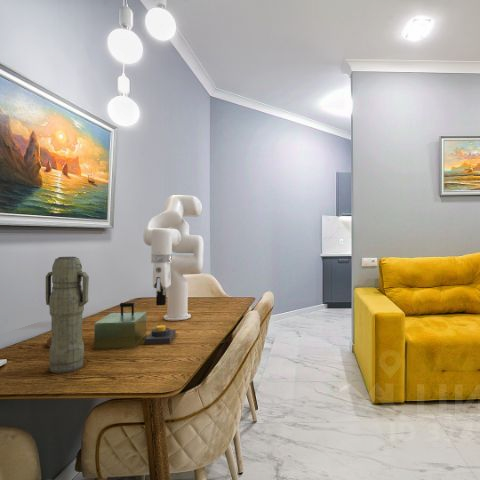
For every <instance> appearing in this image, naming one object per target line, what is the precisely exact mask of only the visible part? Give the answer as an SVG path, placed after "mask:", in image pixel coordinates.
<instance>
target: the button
mask: <svg viewBox="0 0 480 480" xmlns="http://www.w3.org/2000/svg"><path fill="white" fill-rule="evenodd" d="M166 328H167V325H164V324H161V325H157V326H155V329H156V331H165V330H166Z"/></svg>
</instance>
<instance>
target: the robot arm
mask: <svg viewBox="0 0 480 480" xmlns="http://www.w3.org/2000/svg"><path fill="white" fill-rule="evenodd" d="M202 212H203V205H202V202H201V200H200V199H199V198H198V197H197V196H195V195H188V194H187V195H186V194H173V195H170V196H168V197H167V199H166V201H165V205H164V208H163V210H162V212H161V213H158V214H157V215H155V216H154V217H152V218H150V219H149V220H148V222H147V223H146V226H145V228H144V232H143V236H142V237H143V242H144V244H145V245H146V246H148V247H151V248H150V249H151V252H150V255H151V256H150V263H151V264H153V268H152V269H153V271H152V287H153V288H154V289H156V291H155V292H156V293H155V294H156V298H155V305H156V306H167V308H166V309H167V310H166V314H165V315H163V319H164V320H165V321H167V322H170V321H171V322H177V321H185V320H188V319H189V320H190V319H191V317H192V315H191V313H188V312H189V311H188V309H189V307H188V306H189V283H188V280H187V278H186V277H185V276H184V275H200V274H201V273H202V272H203V268H204V251H205V249H204V248H205V245H204V244H205V242H204V239H203V237H202V236H201V235H199V234H190V224H189V223H188V221H187V220H185V218H184V217H193V218H194V217H195V218H197V217H200V216H201V215H202ZM173 253H175V254H174V255H173ZM189 254H190V255H189ZM191 254H193V255H191ZM166 293H167V294H166ZM166 304H167V305H166Z"/></svg>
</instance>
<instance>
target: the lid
mask: <svg viewBox="0 0 480 480" xmlns="http://www.w3.org/2000/svg"><path fill="white" fill-rule="evenodd" d="M135 306H136V303H135V302H134V301H132V302H120V304H119V307H120V312H110V313H108V314H107V315H106V316H104V317H102V318H101V319H99V320H98V321H95V322H94V324H93V325H94V326H95V325H119V324H135V323H137V322H138V321H139V320H140V319H141V318H143V317H144V316H145V315H146V316H147V314H148V312H147V311H136V312H135ZM124 308H131V312H124Z"/></svg>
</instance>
